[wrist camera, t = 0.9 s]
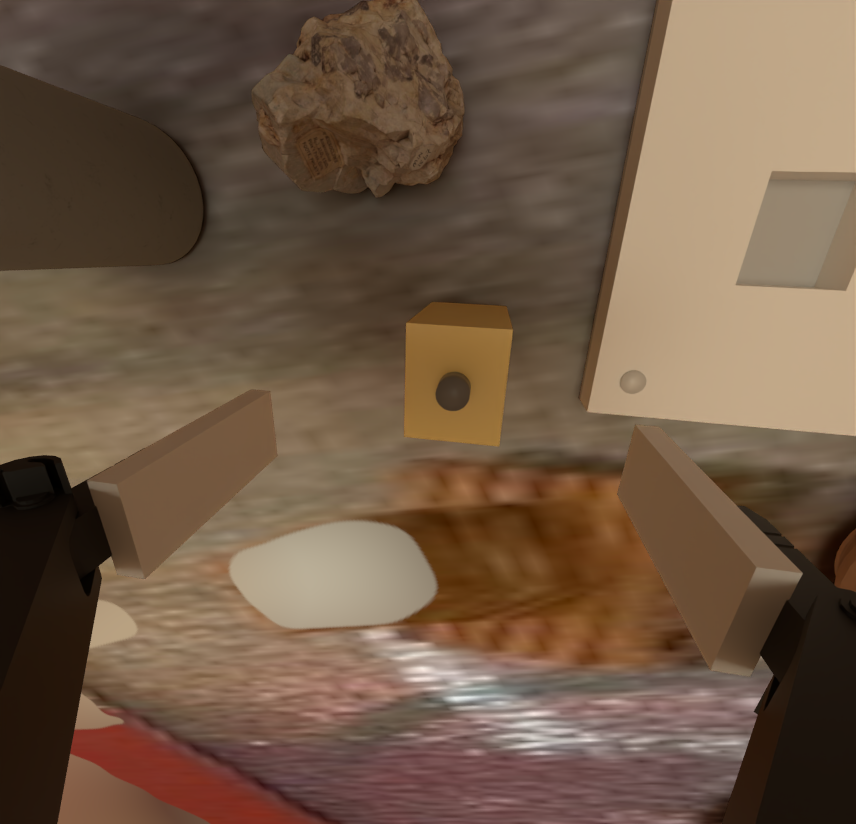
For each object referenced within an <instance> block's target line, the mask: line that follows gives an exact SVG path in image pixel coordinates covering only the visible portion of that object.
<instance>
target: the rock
mask: <svg viewBox="0 0 856 824" xmlns="http://www.w3.org/2000/svg"><path fill="white" fill-rule="evenodd" d="M251 94H252V102H253V105H254V107H255V109H256V111H257V112H256V115H257V121H258V122H259V127H258V131H259V136H260V139H261V142H262V148H263V150H264V152H265V153H266V154H267V155H268V156H269V157H270V158H271V159H272V161H273V162H274V163H275V164H276V165H277V166H278V167H279V168H280V169H281V170H282V171H283V172H284V173H285V174H286V175H287V176H288V177H289V178H290V179H291V180H292V181H293V182H294V183H295V184H296V185H297V186H298V187H299V188H300V189H301V190H302V191H315V192H321V193H323V192H326V191H329V190H332V189H333V190H337V191H340V192H343V193H348V194H352V193H360V192H361V191H363V190H365V189H366V188H367V187H369V188H370V190H371V191H372V193H373V194H374V195H375V197H376V198H377V197H382V196H383V195H385V194H386V193H387V192H389V191H390V189H391V188H392V186H393V184H394V183H395V182H396V183H397V184H404V185H410V186H413V185H416V184H418V183H421V184H429V183H431V182H433V181H435V180H437V178H439V177H440V175H441V173H442V170H443V168H444V167H445V166H446V165H447V164H448V162H449V159H450V157H451V155H452V153H453V147H454V145H455V144H457V140H458V139H459V138H460V137H461V136H462V129H463V120H462V119H463V116H464V113H465V112H464V103H463V93H462V90H461V87H460V83H459V81H458V80H457V79H456V78H454V77H453V76H452V67H451V65H450V64H449V62H448V60H447V58H446V57H445V56H444V55H443V54H442V49H441V43H440V42H439V40H438V39H437V36H436V34H435V31H434V29H433V27H432V25H431V23H430V22H429V20H428V18H427V16H426V14H425V13H424V11H423V9H422V8H421V6H420V5H419V3H418V1H417V0H374V1H361V2H360V3H358V4H357V5H356V6H354V7H353V8H351V9H349V10H348V11H346V12H345V13H341V14H330V15H328V16H326V17H325V18H324V19H323V20H320V19H318V18H316V17H312V18H310V19H308V20H307V21H306V23H305V24H304V26H303V27H302V29H301V36H300V37H299V39H298V42H297V49H296V51H295V52H294V54H293V55H291V54H288V55H287V57H286V58H285V59H284V60H283V61H282V62H281V63H280V65H279V66H278V67H277V68H276V69H275V70H274V71H273V72H271V73H269V74H267V75H266V76H265V77H264V78H263V79H262V80H261V81H260V82H259V83H258V84H257V85H256V86H255V87H254V88H253V89H252V91H251Z"/></svg>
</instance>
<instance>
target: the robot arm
mask: <svg viewBox="0 0 856 824" xmlns="http://www.w3.org/2000/svg"><path fill="white" fill-rule="evenodd" d="M277 456H278V455H277V447H276V438H275V429H274V420H273V412H272V403H271V394H270V391H263V390H253V389H251V390H249V391H247V392H246V393H244V394H242V395H240V396H238V397H237V398H235V399H233V400H231V401H229V402H228V403H226V404H224V405H222V406H220V407H219V408H217V409H215V410H213V411H211V412H209V413H208V414H206V415H204V416H202V417H200V418H199V419H197V420H195V421H193V422H191V423H190V424H188V425H186V426H184V427H182V428H181V429H179V430H177V431H175V432H173V433H172V434H170V435H168V436H166V437H164V438H163V439H161V440H159V441H157V442H155V443H154V444H152V445H150V446H148V447H146V448H144V449H142V450H140V451H138V452H136V453H135V454H133V455H131V456H129V457H128V458H126V459H124V460H122V461H120V462H118V463H116V464H115V465H114V466H111V467H109V468H107V469H106V470H104V471H102V472H100V473H98V474H97V475H95V476H93V477H91V478H89V479H87V480H86V481H84V482H82V483H80V484H78V485H77V486H75V487H73V488H71V486H70V483H69V480H68V478H67V475H66V472H65V469H64V466H63V463H62V460H61V458H59V457H56V456H47V455H43V456H33V457H27V458H22V459H18V460H14V461H11V462H8V463H5V464H2V465H0V824H57V822H58V816H59V811H60V805H61V800H62V794H63V789H64V783H65V778H66V772H67V767H68V761H69V756H70V750H71V745H72V740H73V734H74V729H75V723H76V718H77V712H78V707H79V701H80V695H81V690H82V685H83V679H84V674H85V668H86V663H87V657H88V652H89V646H90V641H91V634H92V629H93V624H94V618H95V613H96V607H97V602H98V597H99V591H100V586H101V580H102V577H101V573H100V570H99V567H98V566H99V565H100V564H101V563H103V562H104V561H105V560H107V559H108V558H109V557H110V556H111V557H112V560H113V563H114V566H115V569H116V572H117V575H122V576H128V577H134V578H140V579H146V578H147V577H148V576H149V575H150V574H151V573H152V572H153V571H154V570H155V569H156V568H157V567H158V566H159V565H161V564H162V563H163V562H164V561H165V560H166V559H167V558H168V557H169V556H170V555H171V554H172V553H173V552H175V551H176V550H177V549H178V548H179V547H180V546H181V545H182V544H183V543H184V542H185V541H186V540H187V539H188V538H190V537H191V536H192V535H193V534H194V533H195V532H196V531H197V530H198V529H199V528H200V527H201V526H202V525H204V524H205V523H206V522H207V521H208V520H209V519H210V518H211V517H212V516H213V515H214V514H215V513H216V512H218V511H219V510H220V509H221V508H222V507H223V506H224V505H225V504H226V503H227V502H228V501H229V500H230V499H231V498H233V497H234V496H235V495H236V494H237V493H238V492H239V491H240V490H241V489H242V488H243V487H244V486H245V485H247V484H248V483H249V482H250V481H251V480H252V479H253V478H254V477H255V476H256V475H257V474H258V473H259V472H260V471H262V470H263V469H264V468H265V467H266V466H267V465H268V464H269V463H270V462H271V461H272V460H273V459H274V458H276V457H277ZM617 495H618V496H619V498H620V500H621V502H622V504H623V506H624V508H625V510H626V512H627V513H628V515H629V517H630V519H631V521H632V523H633V525H634V527H635V529H636V531H637V532H638V534H639V536H640V538H641V540H642V542H643V544H644V546H645V548H646V550H647V551H648V553H649V555H650V557H651V559H652V561H653V563H654V565H655V567H656V568H657V570H658V572H659V574H660V576H661V578H662V580H663V582H664V584H665V586H666V587H667V589H668V591H669V593H670V595H671V597H672V599H673V601H674V603H675V605H676V606H677V608H678V610H679V612H680V614H681V616H682V618H683V620H684V622H685V623H686V625H687V627H688V629H689V631H690V633H691V635H692V637H693V639H694V641H695V642H696V644H697V646H698V648H699V650H700V652H701V654H702V656H703V658H704V660H705V661H706V663H707V665H708V667H709V669H710V670H711V671H717V672H724V673H730V674H736V675H742V676H748V677H750V676H751V674H752V672H753V670H754V668H755V666H756V664H757V662H758V660H759V658H760V656H762V658H763V659H764V661H765V662H766V664H767V665H768V667H769V668H770V670H771V671H772V672H773V674H774V675H773V677H772V679H771V681H770V683H769V685H768V687H767V688H766V690H765V692H764V694H763V696H762V698H761V699H760V701H759V703H758V705H757V707H756V709H755V711H754V712H755V713H757V714H758V716H757V719H756V722H755V725H754V728H753V731H752V734H751V737H750V740H749V743H748V746H747V749H746V752H745V755H744V758H743V761H742V764H741V767H740V770H739V773H738V776H737V779H736V782H735V785H734V788H733V791H732V794H731V797H730V800H729V803H728V806H727V809H726V812H725V815H724V818H723V821H722V824H856V592H854V591H852V590H847V589H842V588H837V587H836V586H835V585H834V584H833V583H832V582H831V581H830V580H829V579H828V578H827V577H826V576H825V575H824V574H823V573H822V572H820V571H819V570H818V569H817V568H816V567H815V566H814V565H813V564H812V563H811V562H810V561H809V560H808V559H807V558H806V557H805V556H804V555H803V554H802V553H801V552H800V551H799V550H798V549H794V546H793V545H792V544H791V543H790V542H789V541H788V540H787V539H786V538H785V537H782V536H781V533H780V532H779V531H778V530H777V529H776V528H775V527H774V526H773V525H771V524H770V523H769V522H768V521H767V520H766V519H765V518H763V517H761V516H760V515H758V514H756V513H755V512H753V511H752V510H750V509H748V508H747V507H745V506H736V505H735V504H734V503H733V502H732V501H731V500H730V499H729V497H728V496H727V495H726V494H725V493H724V492H723V491H722V490H721V489H720V488H719V487H718V486H717V485H716V484H715V483H714V482H713V481H712V480H711V479H710V478H709V477H708V476H707V475H706V474H705V473H704V472H703V471H702V470H701V469H700V468H699V467H698V466H697V465H696V464H695V463H694V462H693V461H692V460H691V459H690V458H689V457H688V456H687V455H686V454H685V453H684V452H683V451H682V450H681V449H680V448H679V446H678V445H677V444H676V443H675V442H674V441H673V440H672V439H671V438H670V437H669V436H668V435H667V434H666V433H665V432H664V431H663V430H662V429H661V428H660V427H655V426H645V425H635V427H634V431H633V435H632V439H631V443H630V447H629V450H628V454H627V458H626V462H625V466H624V470H623V474H622V478H621V481H620V485H619V489H618V493H617Z"/></svg>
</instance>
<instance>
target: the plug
mask: <svg viewBox="0 0 856 824" xmlns="http://www.w3.org/2000/svg"><path fill="white" fill-rule="evenodd" d="M512 335H513V328H512V324H511V321H510V317H509V314H508V310H507V306H497V305H480V304H463V303H446V302H431V303H430V304H429V305H428V306H426V307H425V308H424V309H423V310H422V311H420V312H419V313H418V314H417V315H415V316H414V317H413V318H412V319H410V320H409V321H408V322H407V323H406V362H405V417H404V437H411V438H421V439H431V440H441V441H450V442H460V443H470V444H480V445H490V446H499V443H500V434H501V426H502V418H503V409H504V401H505V393H506V384H507V376H508V368H509V360H510V351H511V343H512Z"/></svg>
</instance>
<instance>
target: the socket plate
mask: <svg viewBox="0 0 856 824" xmlns="http://www.w3.org/2000/svg"><path fill="white" fill-rule="evenodd" d="M579 399H580V401H581V402H582V404H583V406H584V407H585V409H586V411H587V412H593V413H604V414H616V415H627V416H638V417H649V418H661V419H672V420H683V421H694V422H706V423H717V424H728V425H740V426H751V427H762V428H773V429H785V430H796V431H807V432H818V433H830V434H841V435H852V436H856V0H657V1H656V6H655V11H654V16H653V21H652V26H651V32H650V37H649V42H648V47H647V52H646V57H645V62H644V67H643V72H642V77H641V83H640V88H639V93H638V98H637V103H636V108H635V113H634V118H633V123H632V129H631V134H630V139H629V144H628V149H627V154H626V159H625V164H624V169H623V174H622V180H621V185H620V190H619V195H618V200H617V205H616V210H615V215H614V220H613V226H612V231H611V236H610V241H609V246H608V251H607V256H606V261H605V266H604V271H603V277H602V282H601V287H600V292H599V297H598V302H597V307H596V312H595V317H594V323H593V328H592V333H591V338H590V343H589V348H588V353H587V358H586V363H585V368H584V374H583V379H582V384H581V389H580V394H579Z"/></svg>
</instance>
